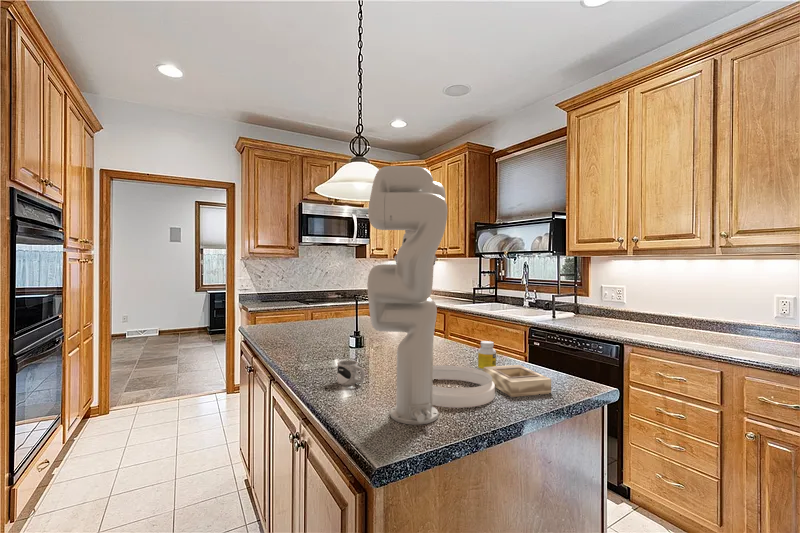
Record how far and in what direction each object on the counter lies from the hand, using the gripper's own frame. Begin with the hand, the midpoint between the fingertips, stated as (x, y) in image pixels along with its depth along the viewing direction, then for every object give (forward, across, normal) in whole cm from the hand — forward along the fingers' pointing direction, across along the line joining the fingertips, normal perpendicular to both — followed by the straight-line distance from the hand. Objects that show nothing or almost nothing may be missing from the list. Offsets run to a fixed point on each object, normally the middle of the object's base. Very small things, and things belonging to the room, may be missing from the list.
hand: (416, 281), depth 130 cm
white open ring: (+35, +4, -13) cm, 37 cm away
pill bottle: (+35, +29, -6) cm, 46 cm away
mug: (+34, -17, +12) cm, 41 cm away
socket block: (+34, +25, -22) cm, 48 cm away
